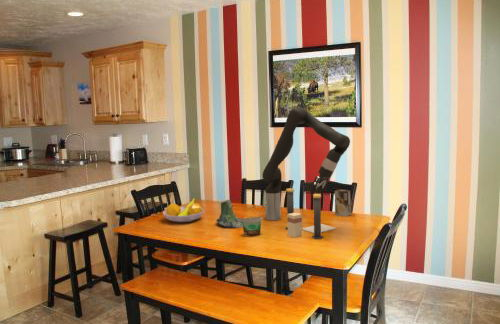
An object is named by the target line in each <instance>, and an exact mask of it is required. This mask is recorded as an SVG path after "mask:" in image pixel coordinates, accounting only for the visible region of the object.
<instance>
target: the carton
mask: <svg viewBox="0 0 500 324" xmlns="http://www.w3.org/2000/svg"><path fill="white" fill-rule="evenodd" d="M286 215H287V217H286V221H287V227H288V230H287V236H288V235H289V237H291V236H292V237H291V238H294V237H295V238H298V236H299V237H302V236H303V230H302V228H303V223H302V222H303V217H302V216H303V215H302V213H299V212H294V213H290V214H287V213H286Z"/></svg>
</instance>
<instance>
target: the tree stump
mask: <svg viewBox="0 0 500 324" xmlns="http://www.w3.org/2000/svg"><path fill="white" fill-rule="evenodd" d="M215 222H216V223H218V224H219V225H220V226H221V227H222V228H225V229H226V228H227V229H240V228H242V229H243V224H242V221H241V217H237V215H236V214H235V212H234V210H233V205H232V202H231V199H225V200H223V201H221V202H220V214H219V217H218V218H217V219H216V220H215Z"/></svg>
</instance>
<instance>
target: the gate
mask: <svg viewBox="0 0 500 324" xmlns="http://www.w3.org/2000/svg"><path fill="white" fill-rule="evenodd" d="M294 190H295V189H294V188H286V189H285V191H286V202H287V203H286V205H287V206H286V207H287V208H286V210H287V213H286V215H287V214H290V213H295V211H294V207H295V206H294V204H295V203H294V192H295V191H294ZM312 197H313V226H314V234H313V235H312V236H311V239H313V238H314V239H313V240H323V239H324V235H322V233H321V224H322V222H321V220H322V214H321V213H322V212H321V211H322V207H321V206H322V205H321V200H322V199H321V198H322V194H321V193H320V194H317V193H314V194H312ZM285 230H286V231H288V226H286V227H285ZM322 238H323V239H322Z"/></svg>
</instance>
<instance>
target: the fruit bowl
mask: <svg viewBox="0 0 500 324" xmlns="http://www.w3.org/2000/svg"><path fill="white" fill-rule="evenodd" d="M195 200H196V198H195V197H193V198H192V200H191V201H190V202H189V203H188V204H187V205H186V206H179V205H178V204H176V203H170V204H169V205H168V207H167V208H166V209H165V210H163V211H162V213H163V216H164V218H165V220H168V221H171V222H174V223H190V222H192V221H195V220H198V219H200V218H201V217H202V216H203V213H204V212H205V210H204V209H203V208H202V205H200V204H199V203H198V202H197V203H196V202H195Z"/></svg>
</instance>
